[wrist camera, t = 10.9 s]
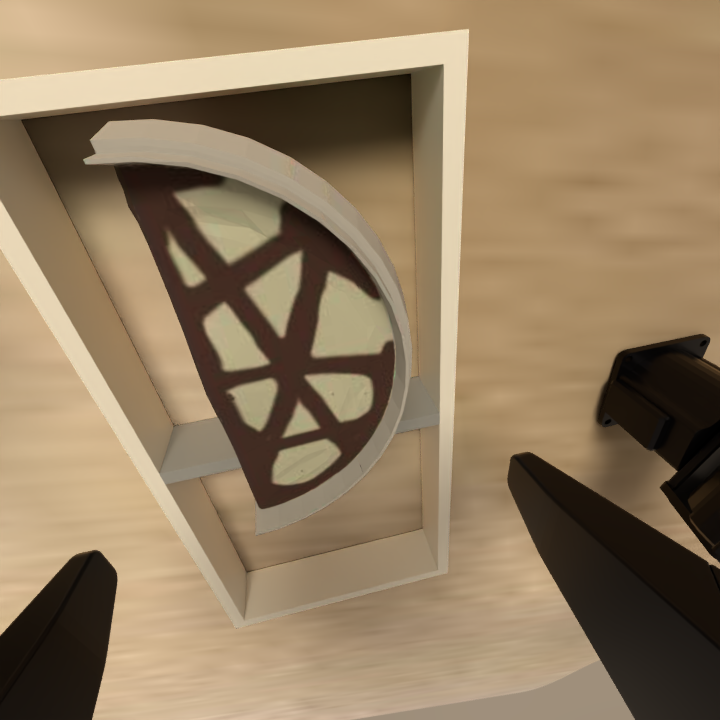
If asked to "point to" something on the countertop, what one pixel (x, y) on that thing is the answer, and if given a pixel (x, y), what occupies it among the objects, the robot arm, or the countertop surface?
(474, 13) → the countertop surface
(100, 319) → the divided tray
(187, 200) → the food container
